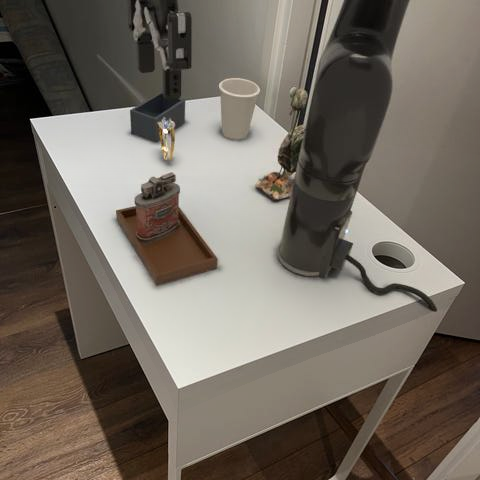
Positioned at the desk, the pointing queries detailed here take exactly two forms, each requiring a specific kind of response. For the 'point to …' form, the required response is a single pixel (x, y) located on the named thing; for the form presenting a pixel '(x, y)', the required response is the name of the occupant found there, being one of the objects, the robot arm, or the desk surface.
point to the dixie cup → (237, 106)
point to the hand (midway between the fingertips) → (158, 84)
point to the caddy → (156, 116)
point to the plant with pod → (286, 154)
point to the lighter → (157, 208)
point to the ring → (167, 137)
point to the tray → (169, 249)
